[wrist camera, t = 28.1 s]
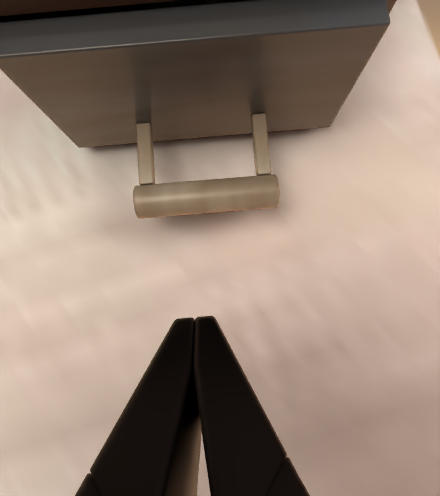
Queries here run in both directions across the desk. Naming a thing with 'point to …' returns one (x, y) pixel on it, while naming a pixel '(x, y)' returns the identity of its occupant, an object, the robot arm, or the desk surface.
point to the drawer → (193, 81)
